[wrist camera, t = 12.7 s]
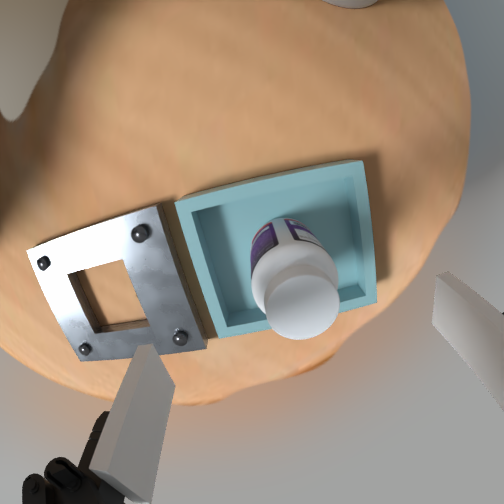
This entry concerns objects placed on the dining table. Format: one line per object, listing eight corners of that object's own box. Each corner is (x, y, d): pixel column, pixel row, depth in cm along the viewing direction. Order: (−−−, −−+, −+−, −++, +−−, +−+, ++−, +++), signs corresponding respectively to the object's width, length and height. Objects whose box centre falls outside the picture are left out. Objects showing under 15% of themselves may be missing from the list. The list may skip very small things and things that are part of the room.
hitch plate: (85, 353, 29) (78, 364, 27) (34, 246, 24) (23, 252, 22) (208, 339, 28) (205, 352, 26) (161, 202, 23) (153, 207, 21)
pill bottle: (260, 285, 25) (265, 359, 16) (242, 226, 23) (237, 277, 14) (320, 268, 24) (357, 334, 15) (307, 208, 23) (346, 248, 14)
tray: (221, 319, 27) (219, 338, 24) (183, 196, 23) (174, 202, 20) (365, 287, 26) (376, 302, 23) (349, 159, 22) (362, 160, 19)
